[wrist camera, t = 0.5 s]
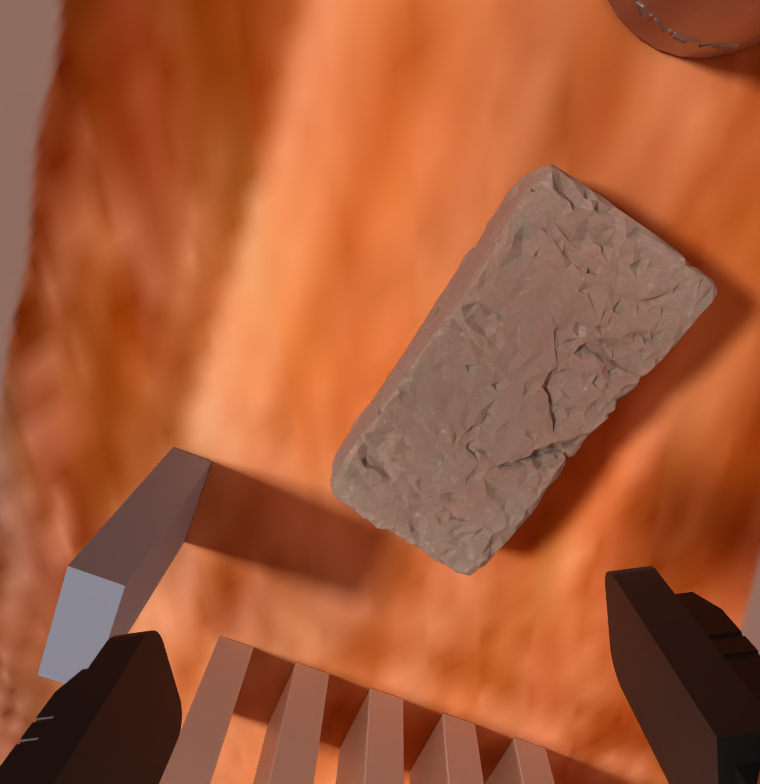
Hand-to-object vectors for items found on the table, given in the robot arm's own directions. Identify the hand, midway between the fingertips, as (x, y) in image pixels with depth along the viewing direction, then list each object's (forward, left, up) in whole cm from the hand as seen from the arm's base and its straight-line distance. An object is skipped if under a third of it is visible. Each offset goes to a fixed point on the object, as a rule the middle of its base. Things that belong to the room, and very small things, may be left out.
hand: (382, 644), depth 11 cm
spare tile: (+11, -7, -18) cm, 22 cm away
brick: (-1, +4, -19) cm, 19 cm away
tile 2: (+21, -2, -18) cm, 28 cm away
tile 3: (+21, +3, -18) cm, 28 cm away
